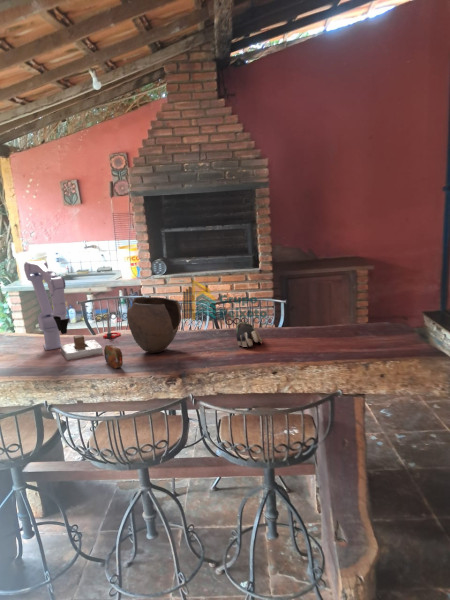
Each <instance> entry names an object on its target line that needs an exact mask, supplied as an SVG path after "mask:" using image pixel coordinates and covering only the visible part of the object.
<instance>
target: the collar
mask: <svg viewBox="0 0 450 600" xmlns="http://www.w3.org/2000/svg"><path fill="white" fill-rule="evenodd" d="M84 341H85V347H84V348H79V349H75V344H74V342H73V343H67V344H62V345H60V347H61V348H60V352H61V354H62V355H63V357H64V358H65V360H66V361H70V360H76V359H80V358H85V357H86V358H87V357H92V356H96V355H103V354H104V349H103V346H101V345H100V343H98V342H97V341H96V340H95V339H90V340H89V339H88V340H84Z"/></svg>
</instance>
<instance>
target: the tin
mask: <svg viewBox="0 0 450 600" xmlns="http://www.w3.org/2000/svg"><path fill="white" fill-rule="evenodd" d="M103 354H104V360H105V362H106V364H107V365H108V366H110V367H112V368H113V369H119V368H122V366H123V364H124V363H123V362H124V361H123V352H122V350H121V348H119V347H117V346H116V345H113V344H107V345H106V344H105V346H104V349H103Z"/></svg>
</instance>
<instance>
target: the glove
mask: <svg viewBox="0 0 450 600" xmlns="http://www.w3.org/2000/svg"><path fill="white" fill-rule="evenodd" d="M258 342H263V338H262V337H261V336H260V333H259V331H258V330H256V328H254V326H253V325H252V324H251V323H247V322H238V323H237V325H236V344H237V346H238V345H242V348H243V347H247V348H248V347H253V345H254V343H258Z"/></svg>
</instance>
